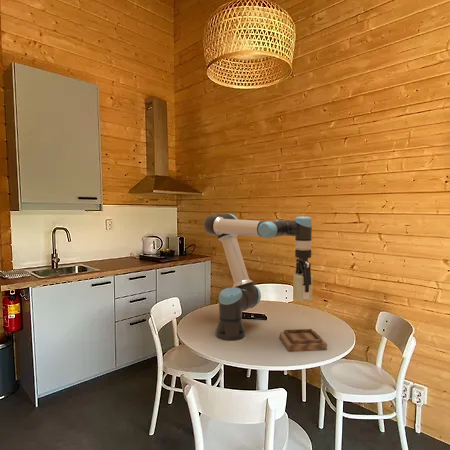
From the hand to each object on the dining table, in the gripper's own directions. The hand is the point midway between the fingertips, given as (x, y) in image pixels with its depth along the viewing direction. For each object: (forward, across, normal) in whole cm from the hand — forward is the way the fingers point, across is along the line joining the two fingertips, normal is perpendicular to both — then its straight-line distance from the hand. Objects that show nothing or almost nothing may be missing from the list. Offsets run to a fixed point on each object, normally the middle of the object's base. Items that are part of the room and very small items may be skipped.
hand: (302, 296), depth 165 cm
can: (+2, 0, 0) cm, 2 cm away
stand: (+23, 0, 0) cm, 23 cm away
